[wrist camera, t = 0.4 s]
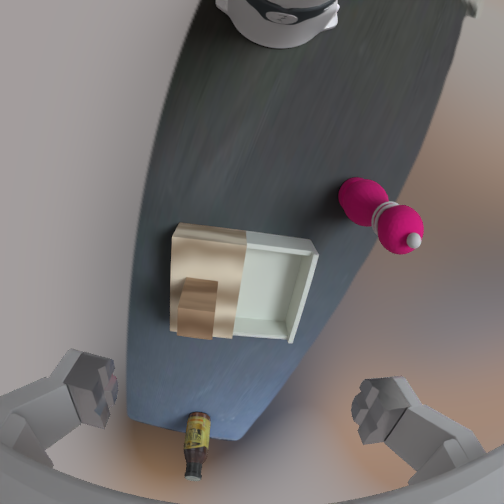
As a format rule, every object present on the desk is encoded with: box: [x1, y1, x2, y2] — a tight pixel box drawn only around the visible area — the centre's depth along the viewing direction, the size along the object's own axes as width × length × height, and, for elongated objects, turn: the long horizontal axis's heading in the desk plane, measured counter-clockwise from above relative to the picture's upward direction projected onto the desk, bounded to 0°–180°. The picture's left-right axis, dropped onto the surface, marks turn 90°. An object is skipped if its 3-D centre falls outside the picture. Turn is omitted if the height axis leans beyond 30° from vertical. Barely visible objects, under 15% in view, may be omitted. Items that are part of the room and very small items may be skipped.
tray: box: [233, 231, 319, 343], centre depth 50 cm, size 18×11×6 cm, turn 171°
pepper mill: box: [338, 177, 424, 254], centre depth 38 cm, size 7×7×20 cm
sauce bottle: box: [184, 412, 210, 481], centre depth 62 cm, size 6×6×20 cm
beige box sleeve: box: [170, 222, 247, 338], centre depth 49 cm, size 18×11×6 cm, turn 171°
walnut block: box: [177, 277, 218, 340], centre depth 43 cm, size 5×5×8 cm
